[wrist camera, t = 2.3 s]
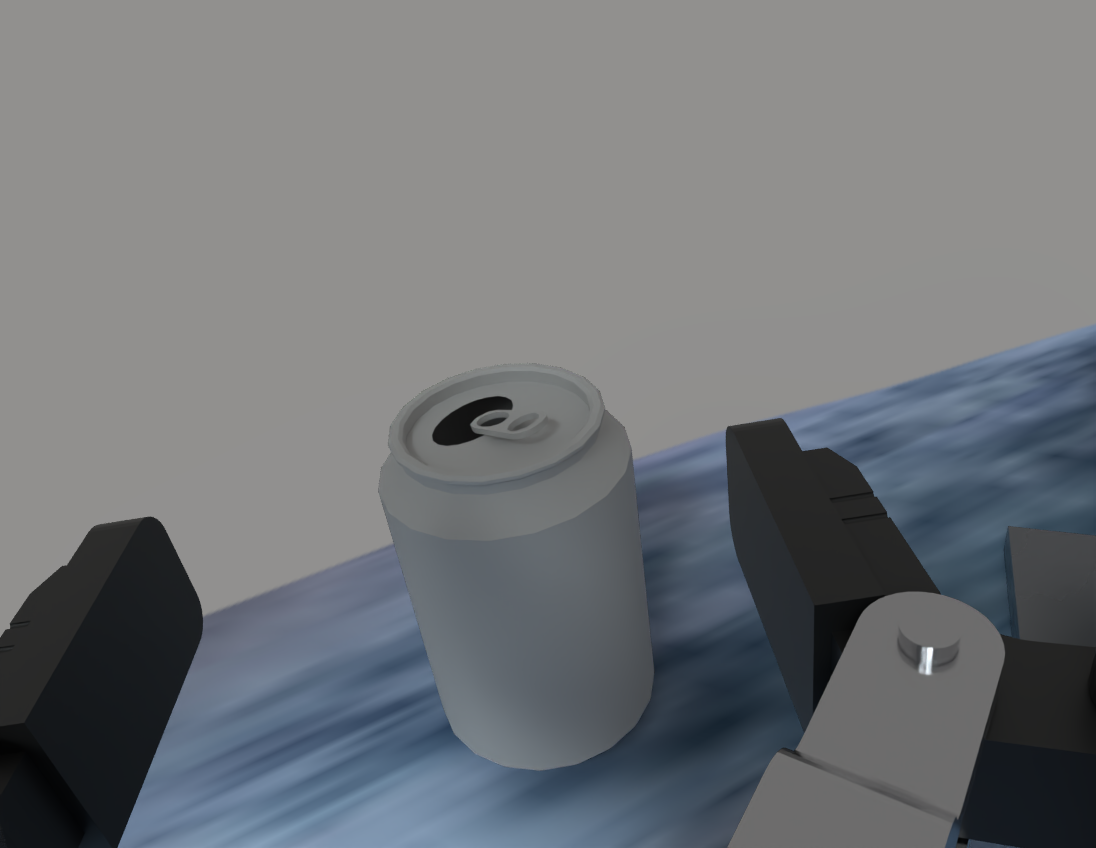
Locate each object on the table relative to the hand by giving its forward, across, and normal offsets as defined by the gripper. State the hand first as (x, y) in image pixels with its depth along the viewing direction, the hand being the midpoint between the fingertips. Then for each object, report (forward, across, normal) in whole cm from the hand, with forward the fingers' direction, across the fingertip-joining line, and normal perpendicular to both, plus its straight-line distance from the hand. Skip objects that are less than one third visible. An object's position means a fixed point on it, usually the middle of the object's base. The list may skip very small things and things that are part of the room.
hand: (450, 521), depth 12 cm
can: (+11, 0, +17) cm, 20 cm away
